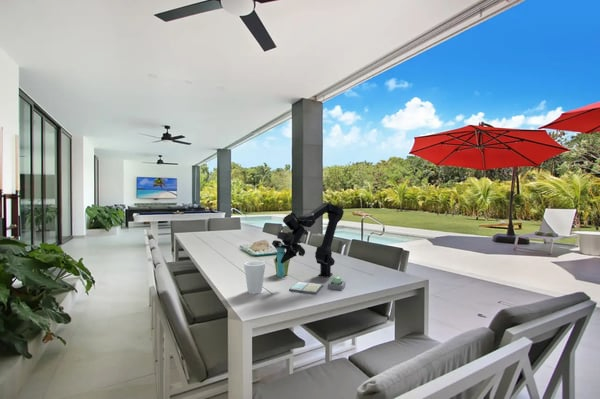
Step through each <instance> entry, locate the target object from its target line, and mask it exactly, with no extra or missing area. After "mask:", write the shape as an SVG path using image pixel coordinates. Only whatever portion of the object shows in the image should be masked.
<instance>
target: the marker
mask: <svg viewBox="0 0 600 399" xmlns="http://www.w3.org/2000/svg"><path fill="white" fill-rule="evenodd" d="M285 252H286V249H285V248H277V249H276V256H277V275H276V276H277V277H279V278H283V277H285V276H284V263H281V260H282V258H283V256H284V253H285Z"/></svg>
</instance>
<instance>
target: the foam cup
mask: <svg viewBox="0 0 600 399" xmlns="http://www.w3.org/2000/svg"><path fill="white" fill-rule="evenodd" d="M243 265H244V266H243V268H244V272H245V281H246V288H247V293H248V292H249V293H248V294H250V293H253V294H252V295H257V293H258V294H260V293H262V292H263V285H264V278H265V270H266V262H265V261H263V260H262V261H261V260H251V261H247V262H244V264H243Z"/></svg>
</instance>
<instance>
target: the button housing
mask: <svg viewBox="0 0 600 399" xmlns="http://www.w3.org/2000/svg"><path fill="white" fill-rule="evenodd" d="M345 287H346V280H345V281H343V280H341V285H338V284H332V279H331V280H330V281H329V282H328V284H327V289H330V290H331V289H332V290H333V289H334V290H340V291H343V290H344V288H345Z"/></svg>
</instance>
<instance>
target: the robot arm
mask: <svg viewBox="0 0 600 399" xmlns="http://www.w3.org/2000/svg"><path fill="white" fill-rule="evenodd" d="M325 214H327V218H328V222H327V226H326V228H325V232H324V236H323V240H322V243H321V245H320V246H317V247H316V251H315V253H314V254H315V256H314V257H315V260H316V264H319V265H320V266H319V268H320V271H319V272H320V273H319V274H318V275H317V276H318V277H324V278H325V277H326V278H327V277H328V278H330V277H332V275H333V272H331V270H332V266H333V265H335V259H334V258H333V256H332V254H333V252H332V249H331V248H332V243H333V240H334V236H335V233H336V229H337V226H338V223H339V222H340V221H341V220H342V219H343V217H344V209H343V207H342V206H337V205H334V204H332V203H331V202H323V203H322V204H321V205H319V206H318V207H317V208H315V209H313V210H311V212H309V213H303V214H301V215H299V216H296V214H295V213H294V212H290V213H289V214H287V215H285V216H284V217H283V219H282V221H283V223H284V224H285V226H286V227H287V228H288V230H290V231H291V232H290V231H287V232H282V231H279V232H278V234H277V236H276V239H275V240H273V241H272V243H271V245H272V246H273V247H274V248H275V249H276V250H277V248H285V253H284V256H283V258H282V260H281V263H284V262H286V261H287V260H289V259H290V260H291V259H292V258H294V257H297V254H298V256H301V257H304V255H305V254H306V250H305V249H304V248H303V246H302V245H301V243H302V241H301V240H302V237H303V236H304V235H306V236H308V235H309V233H308V232H309V231H308V229H306V228H311V227H312V226H313V225H315V224H316V221H317V220H318V219H319V218H320V217H321V216H324V215H325ZM275 258H276V260H275V261H276V262H277V255H276V256H275Z"/></svg>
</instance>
